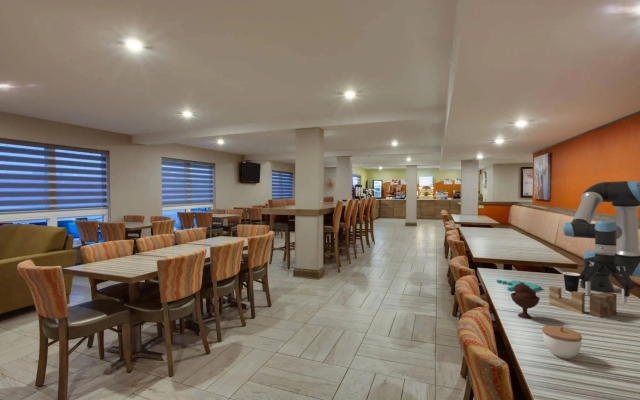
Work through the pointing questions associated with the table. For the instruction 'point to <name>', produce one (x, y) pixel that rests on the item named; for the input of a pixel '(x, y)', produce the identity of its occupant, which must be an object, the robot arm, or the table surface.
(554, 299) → the oak board
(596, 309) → the walnut plate
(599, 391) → the table surface
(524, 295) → the ice cream bowl
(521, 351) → the table surface
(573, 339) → the lidded jar
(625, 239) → the robot arm
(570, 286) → the dixie cup
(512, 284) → the alien figure
